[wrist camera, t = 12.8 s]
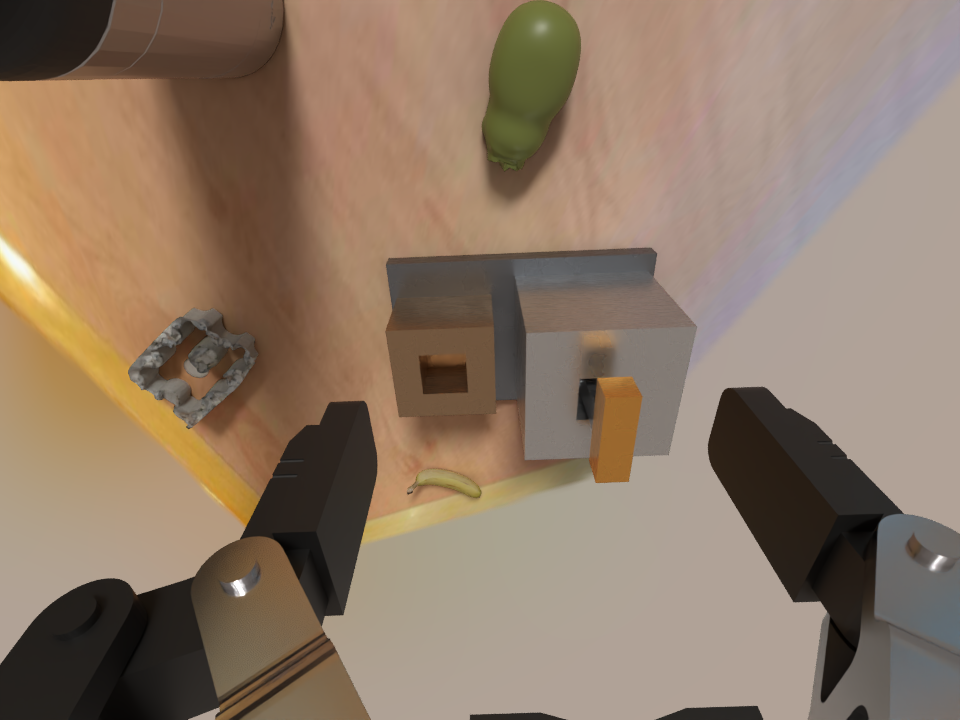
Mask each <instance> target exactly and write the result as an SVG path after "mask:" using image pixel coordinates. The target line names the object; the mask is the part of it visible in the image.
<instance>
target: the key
mask: <svg viewBox="0 0 960 720" xmlns="http://www.w3.org/2000/svg"><path fill="white" fill-rule="evenodd" d="M579 392H580V395H581V398H582V401H583V404H584V407H585V410H586V413H587V416H588V419H589V422H590V425H591V428H592V436H591V446H590V456H589V462H590V465H591V468H592V472H593V475H594V478H595V482H596V483H608V482H629V477H630V471H631V464H632V457H633V452H634V446H635V440H636V434H637V428H638V422H639V415H640V409H641V403H642V397H643V396H642V395H641V393H640V391H639V389H638V387H637V385H636V383H635V381H634V379H633V377H632V376H631V377H608V378H587V379H580V381H579Z"/></svg>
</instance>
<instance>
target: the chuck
mask: <svg viewBox="0 0 960 720" xmlns="http://www.w3.org/2000/svg"><path fill="white" fill-rule="evenodd" d="M656 257H657V253H656V252H655V251H654V250H653V249H652V248H631V249H607V250H583V251H558V252H534V253H509V254H485V255H460V256H436V257H411V258H389V259H388V261H387V263H386V268H387V275H388V282H389V288H390V295H391V302H392V309H393V311H392V314H391V317H390V320H389V323H388V325H387V328H386V337H387V344H388V350H389V356H390V362H391V369H392V375H393V381H394V388H395V394H396V400H397V406H398V413H399V417H418V416H444V415H471V414H496V400H515V399H517V405H518V413H519V421H520V428H521V436H522V444H523V451H524V459H525V460H543V459H570V458H589V456H590V446H591V436H592V428H591V425H590V422H589V419H588V416H587V413H586V410H585V407H584V404H583V401H582V398H581V395H580V392H579V381H580V379H587V378H608V377H631V376H632V377H633V379H634V381H635V383H636V385H637V387H638V389H639V391H640V393H641V395H642V396H643V397H642V403H641V409H640V415H639V422H638V428H637V434H636V440H635V446H634V452H633V456H651V455H652V456H653V455H669V451H670V446H671V442H672V437H673V433H674V428H675V423H676V419H677V415H678V410H679V406H680V401H681V397H682V392H683V388H684V383H685V379H686V374H687V370H688V365H689V361H690V356H691V352H692V347H693V343H694V338H695V334H696V329H697V326H696V325H695V324H694V322H693V321H692V320H691V319H690V318H689V317H688V316H687V315H686V313H685V312H684V311H683V310H682V309H681V308H680V307H679V306H678V304H677V303H676V302H675V301H674V300H673V299H672V298H671V297H670V295H669V294H668V293H667V292H666V291H665V290H664V289H663V287H662V286H661V285H660V284H659V283H658V282H657V281H656V280H655V278H654V277H653V276H654V270H655V264H656Z"/></svg>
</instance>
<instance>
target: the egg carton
mask: <svg viewBox="0 0 960 720" xmlns="http://www.w3.org/2000/svg"><path fill="white" fill-rule="evenodd" d="M222 317H223V315H222V314H221V313H219V312H218V311H216V309H213V308H212V309H210V310H208V311H202V310H198V309H196V308H193V309H191V310H190V311H189V312H188V313H187V314H185V315H184V316H183V317H179V318H177V319H176V320H175V321H173V322H172V323H171V324H170V325H169V326H168V327H167V328H166V329H165V330H164V331H163V332H162V333H161V335H160V336H159V337H158V338H157V339H156V340H155V341H153V343H152V344H151V345H150V346H149V347H148V348H147V349H146V350H145V351H144V352H143V353H142V354H141V355H140V356H139V357H138V359H137V360H136V361H135V362H134V363H133V364H132V366H131V367H130V369H129V370H128V374H129V377H130V379H131V381H133V382H135V383H136V384H137V385H138V386H139V387H140V388H141V390H144V389H145V390H147V391H149V392H151V393H152V394H153V395H154V396H155V399H157V400H162V399H163V398H165V399H166V400H168V401H170V402H171V403H173V404H175V405H176V406H175V407H174V410H173V412H174V414H175V415H176V416H177V417H179V418H180V419H182V420H184V421H185V422H186V423H187V424H188V426H186V427H187V428H188V429H190V428H192V427H193V426H194V425H196V424H197V423H198V422H199V421H200V420H201V419H202V418H203V417H205V416H206V415H207V414H208V413H209V412H210V411H211V410H212V409H213V408H214V407H216V406H217V405H218V404H219V403H220V402H221V401H223V400H224V399H225V398H226V397H227V396H228V395H229V394H230V393H231V392H233V391H234V390H235V389H236V388H237V387H238V386H239V385H240V383H241V382H242V381H243V379H244V378H245V376H246V375H247V373H248V372H249V370H250V369H251V367H252V366H253V365H254V364H255V362H254V361H255V360H256V357H257V356H258V352H257V351H256V350H255V348H254V342H255V338H254V337H253V336H251V335H250V334H249V333H247V332H245V333H243V334H241V335H235V334H231V333H229V332H228V331H227V330H226V329H225V328H224V327H223V324H222ZM195 326H196V327H197V328H198V329H199V330H206V334H207V335H208V336H206V337H205V338H204V339H203V340H202V341H201V342H200V343H199V344H197V345H196V346H195V347H194V348H193V349H192V351H191V352H190V353H189V355H188V359H187V360H186V361H185V362H184V368H185V370H186V372H187V373H188V374H190V375H192V376H193V377H198V378H201V377H205V376H207V374H208V372H209V370H210V369H211V368H212V367H214V366H216V365H217V364H218V363H219V361H220V360H221V359H222V358H223V357H224V356H225V354H226V353H227V351H228V348H229V347H231V349H232V350H236V349H237V348H239V347H242V348H244V349H245V350H246V351H245V354H244V357H243V358H240V359H238V360H236V361H235V363H234V364H233V365H232V366H231V367H230V368H229V370H228V371H227V372H226V373H225V374H224V375H223V378H226V379H220V380H219V381H217V382H216V383H215V385H214V386H213V387H212V388H211V389H210V391H209V392H208V393H207V394H206V396H205V397H203V398H202V399H201V400H197V399H196V398H194V397H193V396H191V395H190V394H191V388H190V386H189V384H188V383H187V382H185V381H184V380H181V379H178V378H172V379H169V380H166V379H164V378H163V377H161V376H160V375H159V374H158V373H159V367H160V366H162V365H163V364H164V363H165V362H166V361H167V360H168V359H169V358H170V357H171V356H172V355H174V354H175V352H176V345H179V344H181V343H182V341H183V340H184V339H185V338H186V337H187V336H188V335H189V334H190V333H191V332H193V331H194V329H195Z"/></svg>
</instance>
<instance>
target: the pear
mask: <svg viewBox="0 0 960 720" xmlns="http://www.w3.org/2000/svg"><path fill="white" fill-rule="evenodd" d="M580 53H581V38H580V32H579V29H578V26H577V24H576V22H575V20H574V19H573V17H572V16H571V15H570V14H569V13H568V12H567V11H566V10H565V9H564V8H562V7H561V6H559V5H557V4H555V3H552V2H549V1H542V0H536V1H530V2H527V3H524V4H522V5H520V6H519V7H517V8H516V9H515V10H514V11H513V12H512V13H511V14H510V15H509V17H508V18H507V20H506V21H505V23H504V25H503V27H502V29H501V31H500V33H499V36H498V38H497V41H496V44H495V47H494V50H493V54H492V58H491V63H490V69H489V92H490V98H489V103H488V107H487V111H486V115H485V117H484V119H483V122H482V131H483V134H484V136H485V140H486V145H487V150H488V151H487V152H488V153H487V154H488V157H487V158H488V160H489V161H492V162H499V163H500V165H501V167H502V169H503V170H504V169H505V170H504V172H505V171H506V170H507V169H509V168H511V169H513V170H515V171H518V170H519V169H522V168H523V166H524V163H525V160H526V159H528V158H530V157H531V156H533V155H534V154H535V152H536V151H537V150H538V149H539V148H540V146H541V145H542V143H543V141H544V139H545V137H546V134H547V131H548V128H549V126H550V123H551V121H552V119H553V118H554V117H555V115H556V114H557V113H558V112H559V111H560V110H561V108H562V107H563V106H564V104H565V102H566V101H567V99H568V97H569V95H570V92H571V90H572V87H573V84H574V81H575V78H576V74H577V70H578V66H579V60H580ZM505 163H506V165H505Z"/></svg>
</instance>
